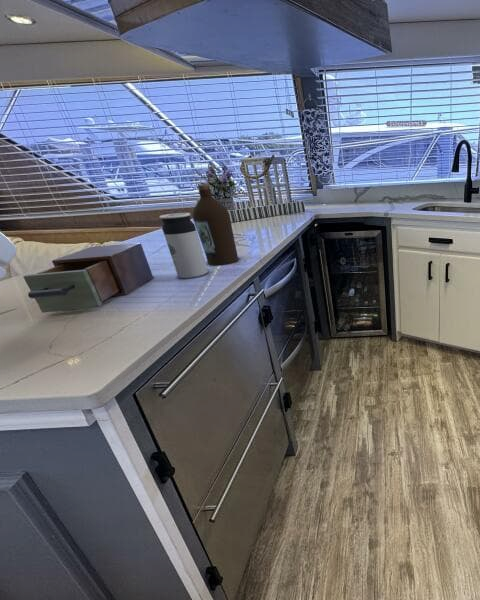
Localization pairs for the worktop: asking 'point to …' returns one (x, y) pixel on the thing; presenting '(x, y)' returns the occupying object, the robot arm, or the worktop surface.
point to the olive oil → (214, 229)
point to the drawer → (73, 285)
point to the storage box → (117, 263)
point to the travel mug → (184, 245)
